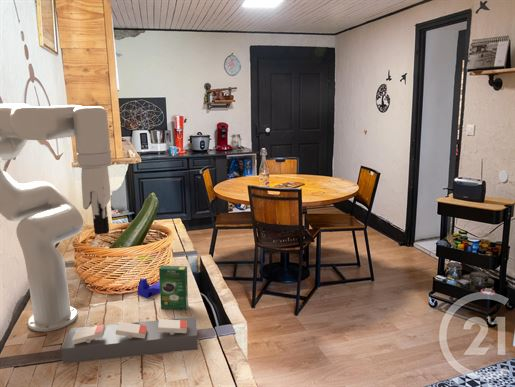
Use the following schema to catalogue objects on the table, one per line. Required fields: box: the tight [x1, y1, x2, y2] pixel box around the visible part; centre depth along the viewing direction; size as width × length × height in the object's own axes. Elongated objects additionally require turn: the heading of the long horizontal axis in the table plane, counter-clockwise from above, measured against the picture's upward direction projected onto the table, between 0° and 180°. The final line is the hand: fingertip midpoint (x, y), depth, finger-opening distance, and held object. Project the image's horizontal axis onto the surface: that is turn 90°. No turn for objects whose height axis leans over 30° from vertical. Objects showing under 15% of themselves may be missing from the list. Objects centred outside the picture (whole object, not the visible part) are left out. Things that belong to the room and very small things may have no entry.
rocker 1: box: [72, 323, 106, 344], centre depth 105 cm, size 4×7×2 cm, turn 99°
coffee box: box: [158, 264, 189, 311], centre depth 127 cm, size 8×3×13 cm, turn 86°
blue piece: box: [137, 277, 160, 299], centre depth 140 cm, size 12×4×6 cm, turn 143°
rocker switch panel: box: [60, 316, 199, 364], centre depth 109 cm, size 9×32×4 cm, turn 99°
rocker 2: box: [115, 321, 147, 339], centre depth 107 cm, size 4×7×2 cm, turn 99°
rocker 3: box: [158, 318, 187, 335], centre depth 108 cm, size 4×7×2 cm, turn 99°
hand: (102, 232), depth 107 cm, fingers closed
